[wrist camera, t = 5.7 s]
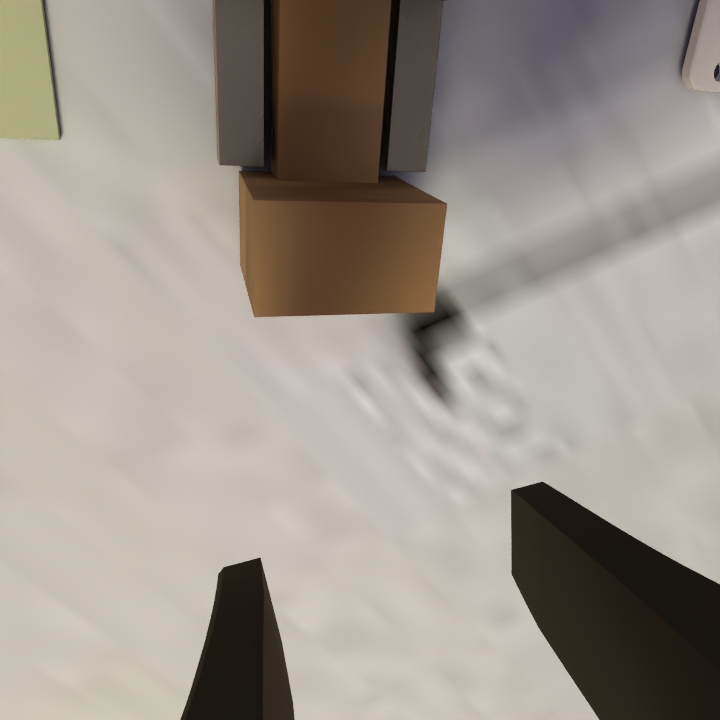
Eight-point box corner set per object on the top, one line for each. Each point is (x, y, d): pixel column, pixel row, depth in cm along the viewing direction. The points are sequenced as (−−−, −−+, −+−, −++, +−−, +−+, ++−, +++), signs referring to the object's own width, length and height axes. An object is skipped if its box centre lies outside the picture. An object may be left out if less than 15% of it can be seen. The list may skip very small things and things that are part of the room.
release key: (413, -86, 14) (487, -134, 11) (385, 263, 17) (433, 311, 14) (233, -111, 13) (250, -175, 10) (240, 264, 16) (254, 317, 13)
